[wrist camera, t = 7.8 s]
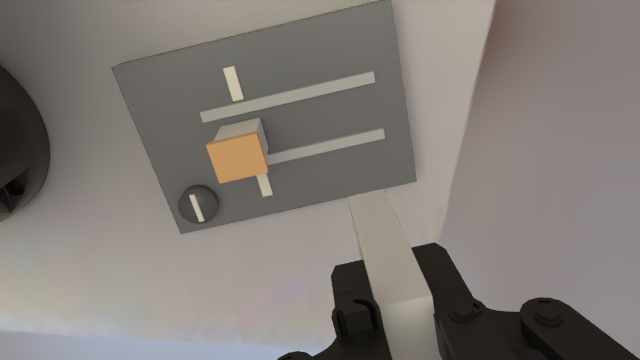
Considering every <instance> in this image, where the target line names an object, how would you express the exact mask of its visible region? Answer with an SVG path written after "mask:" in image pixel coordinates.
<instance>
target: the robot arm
mask: <svg viewBox="0 0 640 360" xmlns="http://www.w3.org/2000/svg"><path fill="white" fill-rule="evenodd" d="M48 165H49V143H48V137H47V133H46V130H45V126H44V124H43V121H42V119H41V117H40V114H39V112H38V110H37V109H36V107H35V105H34V103H33V102H32V100H31V99H30V97H29V96H28V95H27V93H26V92H25V91H24V89H23V88H22V87H21V86H20V84H19V83H18V82H17V81H16V80H15V79H14V78H13V77H12V76H11V75H10V74H9V73H8V72H7V71H5V70H4V69H3V68H2V67H1V66H0V222H2V221H3V220H5V219H7V218H9V217H10V216H11V215H13V214H14V213H15V212H17V211H18V210H19V209H20V208H21V207H23V206H24V205H25V204H26V203H28V202H29V201H30V200H31V199H32V198H33V197H34V196H35V194H36V193H37V192H38V191H39V189H40V188H41V186H42V184H43V182H44V179H45V177H46V174H47V170H48ZM348 201H349V205H350V210H351V214H352V219H353V223H354V228H355V232H356V237H357V241H358V246H359V250H360V255H361V258H362V260H359V261H354V262H350V263H345V264H341V265H336V266H335V268H334V270H333V273H332V275H331V280H332V287H333V294H334V302H335V308H334V309H333V311H332V321H333V325H334V328H335V332H336V335H337V337H336V339H335V340H334V342H333V343H332V344H331V345H330V346H329V347H328V348H327V349H325V350H324V351H322V352H320V353H319V354H317V355H315V356H313V357H312V356H310V355H309V354H308V353H306V352H299V351H296V352H291V353H288V354H285V355H283V356H281V357H280V358H279V359H278V360H441V358H442V360H640V359H639V358H637V357H636V356H635V355H633V354H632V353H631V352H629V351H628V350H627V349H625V348H624V347H623V346H621V345H620V344H619V343H617V342H616V341H615V340H614V339H612V338H611V337H610V336H608V335H607V334H606V333H604V332H603V331H602V330H600V329H599V328H598V327H596V326H595V325H594V324H593V323H591V322H590V321H589V320H587V319H586V318H585V317H583V316H582V315H581V314H579V313H578V312H577V311H575V310H574V309H573V308H572V307H570V306H569V305H567V304H565V303H563V302H562V301H559V300H555V299H552V298H535V299H531V300H528V301H527V302H526V303H524V304H523V305H522V307H521V309H520V312H505V311H496V310H491V309H489V308H486V307H485V305H483V303H482V302H480V301H478V300H476V299H474V297H473V296H472V294H471V292H470V291H469V289H468V287H467V286H466V284H465V282H464V280H463V279H462V277H461V275H460V273H459V272H458V270H457V269H456V267H455V265H454V263H453V261H452V260H451V258H450V256H449V254H448V253H447V251H446V249H444V248H443V247H441V246H440V245H438V244H436V243H431V244H426V245H422V246H417V247H413V248H411V247H410V245H409V243H408V241H407V238H406V236H405V234H404V232H403V229H402V227H401V225H400V223H399V221H398V218H397V216H396V214H395V212H394V209H393V207H392V205H391V203H390V201H389V198H388V196H387V194H386V192H385V189H380V190H376V191H371V192H367V193H363V194H358V195H354V196H349V197H348Z"/></svg>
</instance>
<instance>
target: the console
mask: <svg viewBox="0 0 640 360" xmlns="http://www.w3.org/2000/svg"><path fill="white" fill-rule="evenodd" d="M112 70H113V73H114V75H115V78H116V80H117V82H118V85H119V87H120V90H121V92H122V94H123V97H124V99H125V102H126V104H127V106H128V109H129V111H130V114H131V116H132V118H133V121H134V123H135V125H136V128H137V130H138V133H139V135H140V137H141V140H142V142H143V145H144V147H145V149H146V152H147V154H148V157H149V159H150V161H151V164H152V166H153V169H154V171H155V173H156V176H157V178H158V181H159V183H160V185H161V188H162V190H163V192H164V195H165V197H166V200H167V202H168V204H169V207H170V209H171V212H172V214H173V216H174V219H175V221H176V224H177V226H178V228H179V231H180V233H181V234H183V233H188V232H192V231H197V230H201V229H206V228H210V227H215V226H219V225H223V224H228V223H232V222H237V221H241V220H246V219H250V218H255V217H259V216H264V215H268V214H272V213H277V212H281V211H286V210H290V209H295V208H299V207H304V206H308V205H313V204H317V203H322V202H326V201H330V200H335V199H339V198H344V197H348V196H353V195H357V194H362V193H366V192H371V191H375V190H379V189H384V188H388V187H393V186H397V185H402V184H406V183H411V182H415V181H417V179H416V172H415V165H414V158H413V151H412V145H411V138H410V131H409V124H408V117H407V110H406V103H405V96H404V90H403V83H402V76H401V69H400V62H399V55H398V48H397V41H396V34H395V28H394V21H393V14H392V7H391V0H379V1H375V2H371V3H367V4H363V5H358V6H354V7H350V8H346V9H342V10H338V11H334V12H330V13H326V14H322V15H317V16H313V17H309V18H305V19H301V20H297V21H293V22H289V23H285V24H280V25H276V26H272V27H268V28H264V29H260V30H256V31H252V32H248V33H243V34H239V35H235V36H231V37H227V38H223V39H219V40H215V41H211V42H206V43H202V44H198V45H194V46H190V47H186V48H182V49H178V50H174V51H169V52H165V53H161V54H157V55H153V56H149V57H145V58H141V59H137V60H132V61H128V62H124V63H121V64H119V65H117V66H114V67H112ZM259 117H260V120H261V123H262V127H263V130H264V134H265V137H266V140H267V144H268V153H267V159H266V161H267V165H268V168H269V171H268V173H264V174H260V175H255V176H251V177H246V178H242V179H238V180H233V181H229V182H225V183H220V184H219V181H218V178H217V175H216V172H215V170H214V167H213V164H212V161H211V158H210V156H209V153H208V150H207V147H206V145H207V143H208V142H212V141H214V139H215V137H216V135H217V133H218V131H219V129H220V127H221V126H225V125H229V124H234V123H238V122H242V121H247V120H251V119H255V118H259Z"/></svg>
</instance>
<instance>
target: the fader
mask: <svg viewBox="0 0 640 360" xmlns="http://www.w3.org/2000/svg"><path fill="white" fill-rule="evenodd" d="M206 147H207V150H208V153H209V156H210V158H211V161H212V164H213V167H214V170H215V172H216V175H217V178H218V181H219V184H220V183H225V182H229V181H233V180H238V179H242V178H246V177H251V176H255V175H260V174H264V173H268V171H269V168H268V165H267V161H266V159H267V153H268V144H267V140H266V137H265V134H264V130H263V127H262V123H261V120H260V117H259V118H255V119H251V120H247V121H242V122H238V123H234V124H229V125H225V126H221V127H220V129H219V131H218V133H217V135H216V137H215V139H214V141H212V142H208V143H207V145H206Z"/></svg>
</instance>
